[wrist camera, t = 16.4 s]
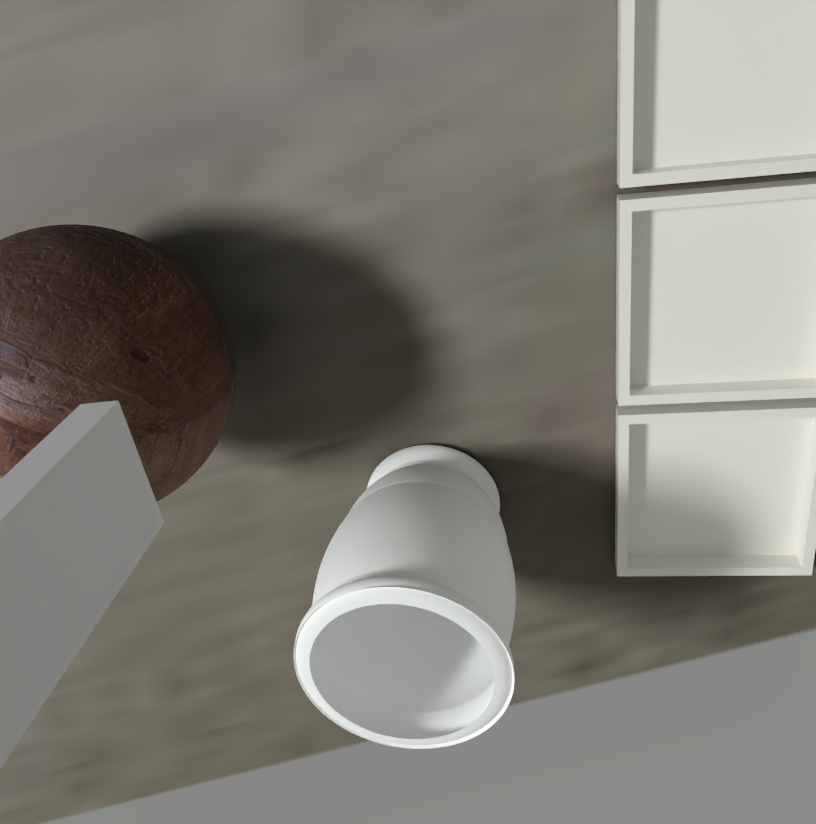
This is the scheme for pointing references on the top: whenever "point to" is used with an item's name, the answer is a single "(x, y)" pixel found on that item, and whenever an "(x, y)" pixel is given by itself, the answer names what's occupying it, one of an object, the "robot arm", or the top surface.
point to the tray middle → (716, 293)
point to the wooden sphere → (111, 347)
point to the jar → (414, 606)
